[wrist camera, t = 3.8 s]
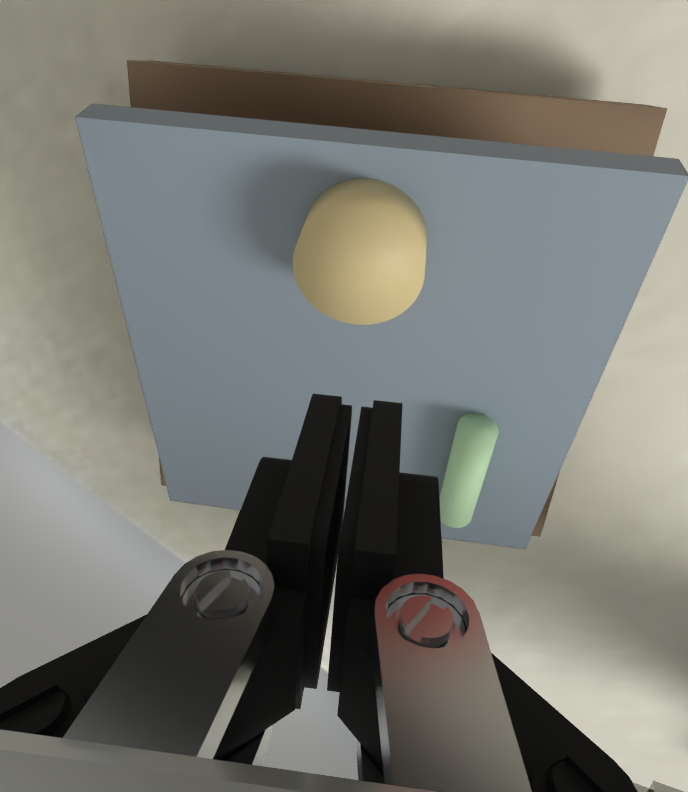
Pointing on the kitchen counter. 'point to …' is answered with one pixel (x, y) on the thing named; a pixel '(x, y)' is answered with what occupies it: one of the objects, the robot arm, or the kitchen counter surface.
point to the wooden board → (398, 113)
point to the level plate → (431, 357)
